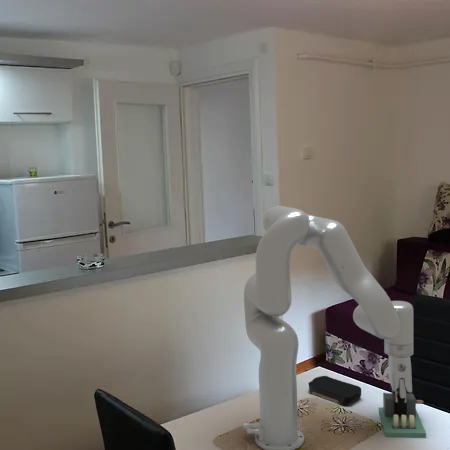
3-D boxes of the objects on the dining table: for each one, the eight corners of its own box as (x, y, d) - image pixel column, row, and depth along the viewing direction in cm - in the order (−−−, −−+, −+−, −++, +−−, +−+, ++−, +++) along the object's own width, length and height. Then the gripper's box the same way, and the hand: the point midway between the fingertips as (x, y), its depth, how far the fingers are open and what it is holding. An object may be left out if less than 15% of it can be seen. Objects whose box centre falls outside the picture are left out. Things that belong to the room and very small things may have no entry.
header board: (385, 436, 153) (385, 420, 153) (378, 411, 168) (378, 396, 168) (426, 437, 152) (426, 421, 152) (415, 412, 167) (415, 397, 166)
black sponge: (365, 400, 177) (364, 388, 176) (346, 408, 172) (346, 396, 171) (322, 385, 189) (322, 374, 189) (304, 393, 184) (304, 381, 184)
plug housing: (385, 416, 162) (385, 399, 161) (383, 410, 166) (383, 393, 165) (424, 417, 161) (424, 399, 160) (421, 411, 165) (421, 393, 164)
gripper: (418, 358, 152) (418, 426, 155) (407, 337, 169) (408, 399, 171) (388, 357, 153) (389, 425, 156) (380, 337, 170) (381, 399, 172)
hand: (399, 411), depth 163 cm, fingers closed on plug housing, 4 cm apart
